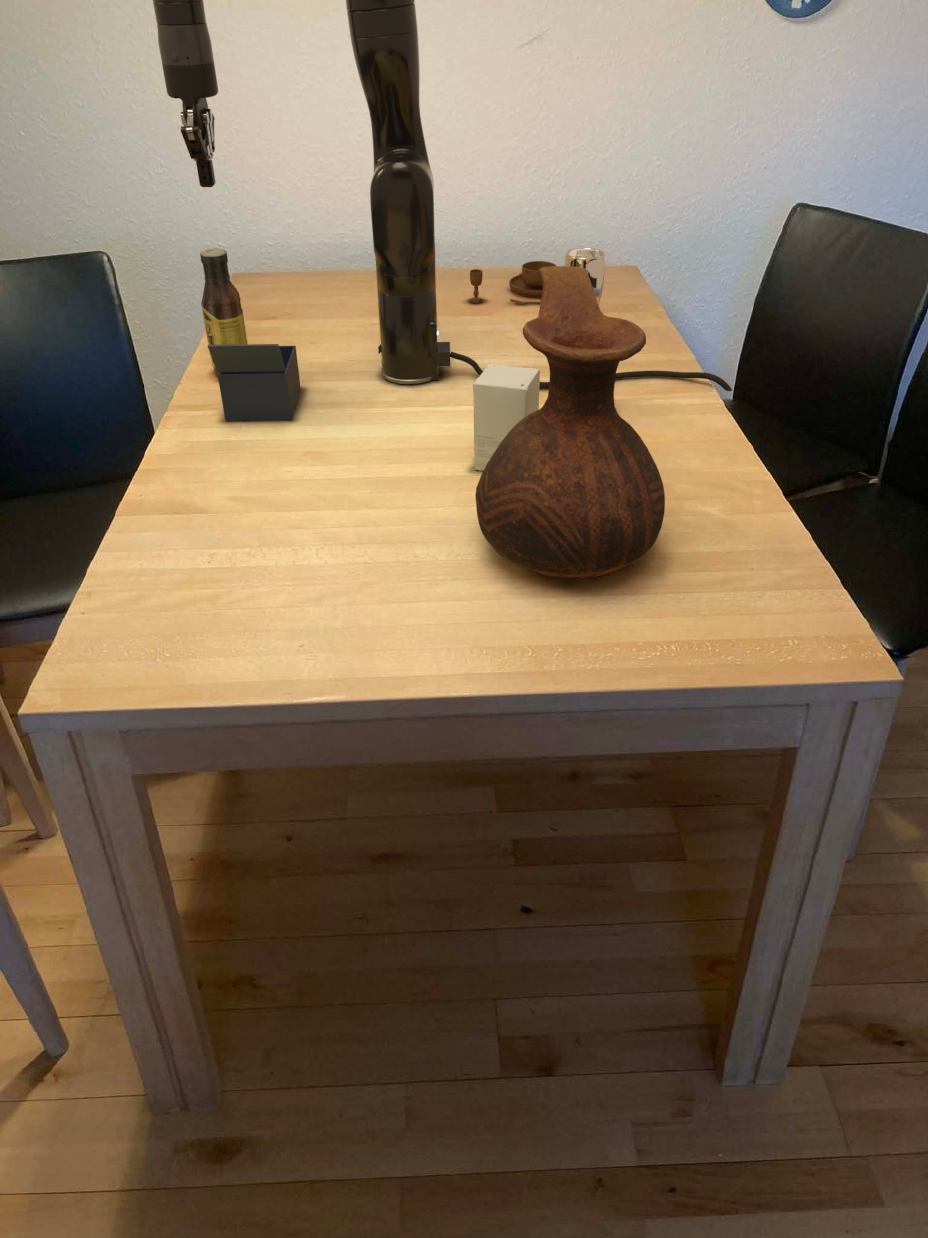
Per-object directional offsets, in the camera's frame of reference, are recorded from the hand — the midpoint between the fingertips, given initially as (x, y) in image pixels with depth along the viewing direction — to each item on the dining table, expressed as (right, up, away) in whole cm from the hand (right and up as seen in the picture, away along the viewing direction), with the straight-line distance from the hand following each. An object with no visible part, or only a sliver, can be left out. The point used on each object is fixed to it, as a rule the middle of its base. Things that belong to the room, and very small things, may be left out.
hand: (208, 185), depth 148 cm
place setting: (+52, -2, +42) cm, 67 cm away
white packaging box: (+46, -47, -18) cm, 69 cm away
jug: (+53, -61, -37) cm, 89 cm away
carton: (+9, -35, -3) cm, 37 cm away
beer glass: (+61, -19, +20) cm, 67 cm away
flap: (+10, -31, -15) cm, 36 cm away
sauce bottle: (+2, -28, +8) cm, 29 cm away
